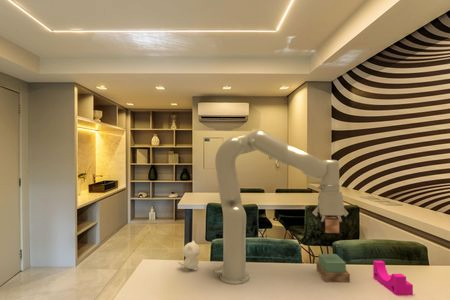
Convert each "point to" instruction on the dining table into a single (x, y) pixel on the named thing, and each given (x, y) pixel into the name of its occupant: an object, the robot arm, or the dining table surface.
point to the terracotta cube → (331, 225)
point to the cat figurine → (191, 255)
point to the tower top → (332, 263)
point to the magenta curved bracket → (391, 280)
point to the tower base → (333, 275)
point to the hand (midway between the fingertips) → (330, 229)
